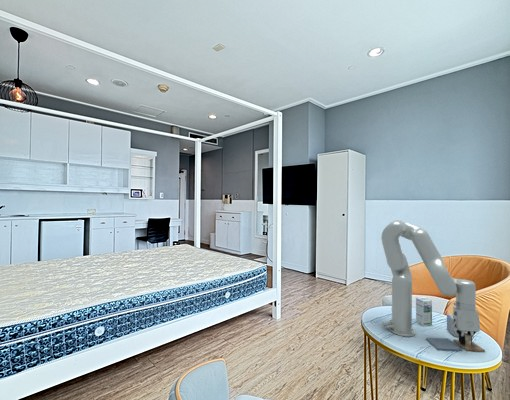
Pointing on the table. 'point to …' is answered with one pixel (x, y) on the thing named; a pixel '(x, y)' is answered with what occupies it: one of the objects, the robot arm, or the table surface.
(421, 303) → the syrup box
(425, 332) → the table surface
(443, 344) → the plate
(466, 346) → the stub
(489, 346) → the table surface
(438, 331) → the table surface
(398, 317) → the robot arm
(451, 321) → the medicine box
